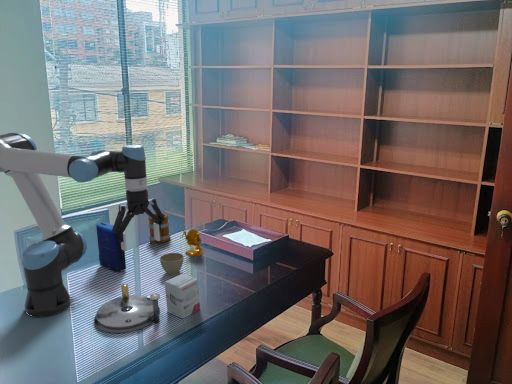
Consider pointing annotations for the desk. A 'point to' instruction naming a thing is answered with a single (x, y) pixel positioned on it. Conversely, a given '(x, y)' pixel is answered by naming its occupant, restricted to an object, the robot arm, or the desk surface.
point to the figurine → (193, 242)
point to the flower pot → (172, 263)
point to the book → (110, 248)
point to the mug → (163, 233)
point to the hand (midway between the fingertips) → (141, 244)
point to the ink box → (182, 295)
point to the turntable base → (155, 319)
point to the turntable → (125, 311)
